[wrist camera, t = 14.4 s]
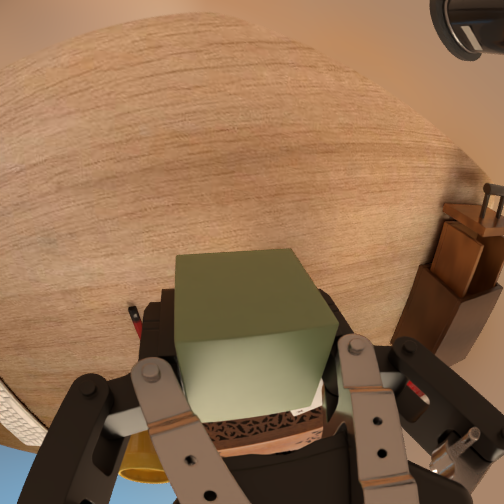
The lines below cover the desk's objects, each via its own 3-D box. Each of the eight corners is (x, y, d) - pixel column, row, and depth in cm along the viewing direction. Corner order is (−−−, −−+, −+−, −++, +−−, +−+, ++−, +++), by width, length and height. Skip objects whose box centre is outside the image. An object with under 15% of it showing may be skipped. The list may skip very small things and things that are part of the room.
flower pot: (163, 445, 48) (167, 486, 39) (114, 435, 44) (113, 478, 35) (180, 425, 45) (185, 473, 36) (124, 414, 40) (123, 463, 32)
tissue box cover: (188, 436, 47) (194, 481, 38) (169, 398, 40) (172, 454, 31) (317, 410, 51) (335, 451, 43) (328, 368, 44) (352, 416, 35)
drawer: (451, 169, 30) (495, 190, 23) (490, 177, 32) (528, 196, 26) (416, 293, 39) (447, 325, 32) (459, 283, 41) (487, 308, 35)
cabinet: (419, 265, 38) (461, 302, 29) (466, 257, 40) (503, 287, 32) (390, 342, 45) (418, 381, 37) (436, 327, 48) (464, 358, 39)
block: (175, 254, 11) (174, 342, 7) (291, 247, 12) (340, 323, 8) (185, 339, 13) (192, 424, 9) (280, 330, 14) (311, 406, 10)
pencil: (160, 379, 38) (160, 384, 37) (128, 306, 31) (128, 311, 30) (165, 378, 38) (166, 384, 37) (136, 305, 31) (135, 310, 30)
